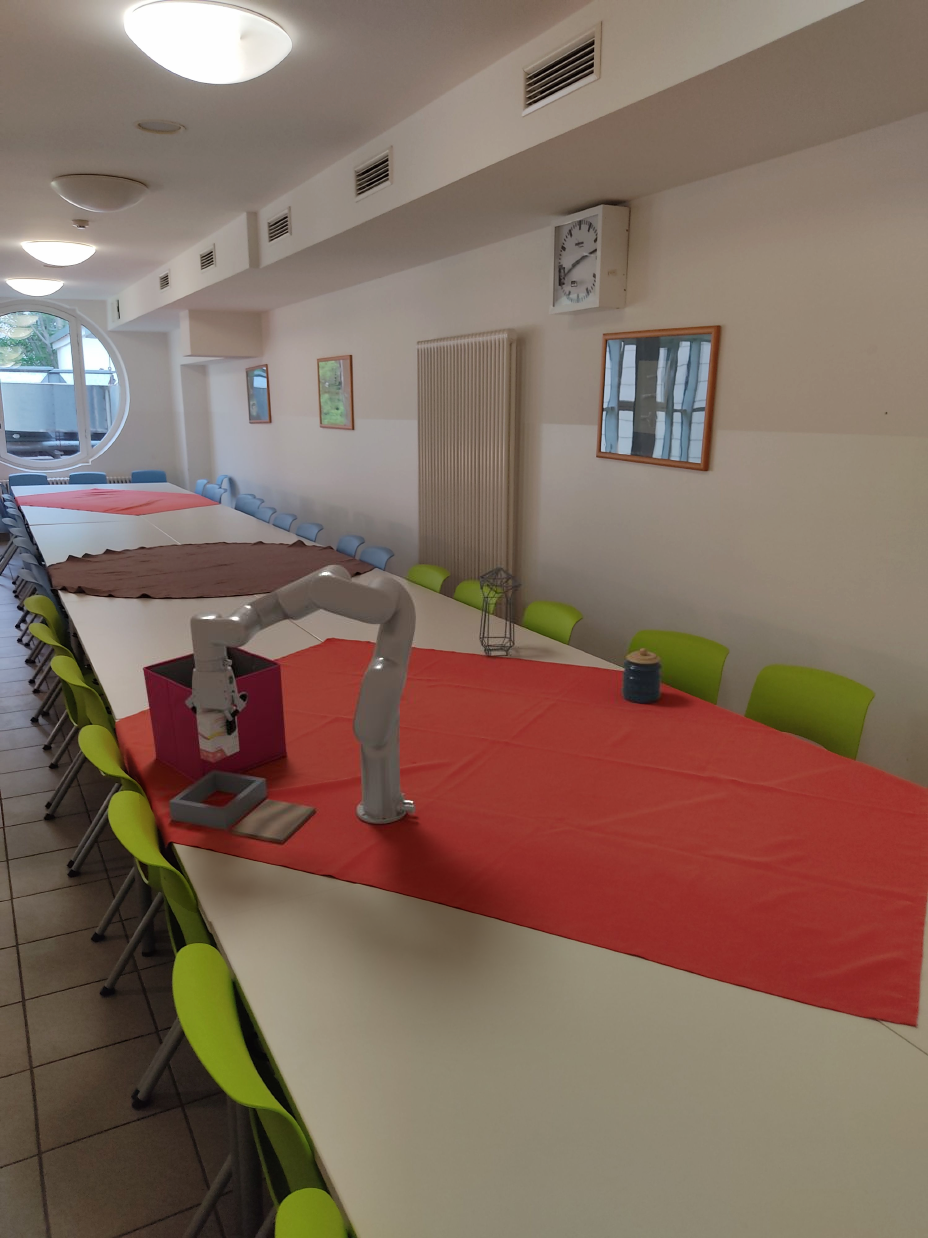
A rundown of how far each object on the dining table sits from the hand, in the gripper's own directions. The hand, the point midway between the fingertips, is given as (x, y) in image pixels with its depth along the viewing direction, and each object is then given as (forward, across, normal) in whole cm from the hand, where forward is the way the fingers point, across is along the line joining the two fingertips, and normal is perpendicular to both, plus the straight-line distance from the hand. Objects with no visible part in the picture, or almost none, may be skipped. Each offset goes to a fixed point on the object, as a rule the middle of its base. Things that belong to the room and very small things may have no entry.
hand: (218, 731), depth 202 cm
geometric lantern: (+22, -47, -137) cm, 147 cm away
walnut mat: (+21, -15, +4) cm, 26 cm away
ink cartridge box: (+6, 0, 0) cm, 6 cm away
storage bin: (+21, +16, -27) cm, 38 cm away
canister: (+23, -103, -100) cm, 145 cm away
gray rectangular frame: (+21, +2, 0) cm, 21 cm away
